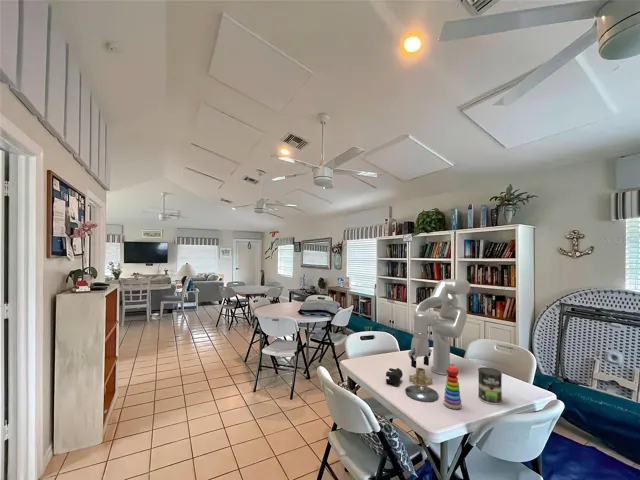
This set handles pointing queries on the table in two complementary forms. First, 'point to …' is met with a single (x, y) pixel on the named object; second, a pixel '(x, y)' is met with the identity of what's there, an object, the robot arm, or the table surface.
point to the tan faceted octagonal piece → (420, 378)
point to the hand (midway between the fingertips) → (419, 366)
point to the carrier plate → (421, 393)
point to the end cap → (393, 376)
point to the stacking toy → (452, 389)
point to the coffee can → (490, 385)
